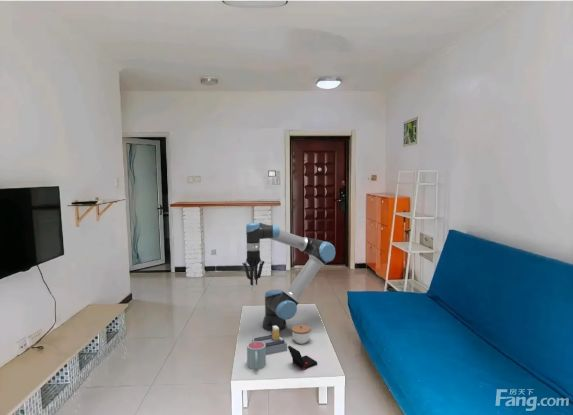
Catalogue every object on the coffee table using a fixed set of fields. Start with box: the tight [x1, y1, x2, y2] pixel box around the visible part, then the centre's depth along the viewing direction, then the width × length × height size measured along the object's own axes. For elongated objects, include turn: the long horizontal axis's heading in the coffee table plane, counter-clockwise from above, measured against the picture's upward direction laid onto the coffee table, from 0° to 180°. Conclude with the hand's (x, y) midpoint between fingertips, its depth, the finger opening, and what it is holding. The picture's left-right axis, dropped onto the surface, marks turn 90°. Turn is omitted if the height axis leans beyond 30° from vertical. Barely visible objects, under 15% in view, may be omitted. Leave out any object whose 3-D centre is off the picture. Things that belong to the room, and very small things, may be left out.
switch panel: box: [251, 334, 288, 356], centre depth 202 cm, size 16×12×5 cm
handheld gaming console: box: [287, 345, 318, 370], centre depth 184 cm, size 9×12×10 cm
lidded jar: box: [291, 324, 312, 345], centre depth 211 cm, size 11×11×9 cm
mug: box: [246, 341, 267, 370], centre depth 183 cm, size 14×9×10 cm
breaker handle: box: [271, 326, 281, 341], centre depth 204 cm, size 4×5×7 cm
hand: (253, 290), depth 212 cm, fingers closed
